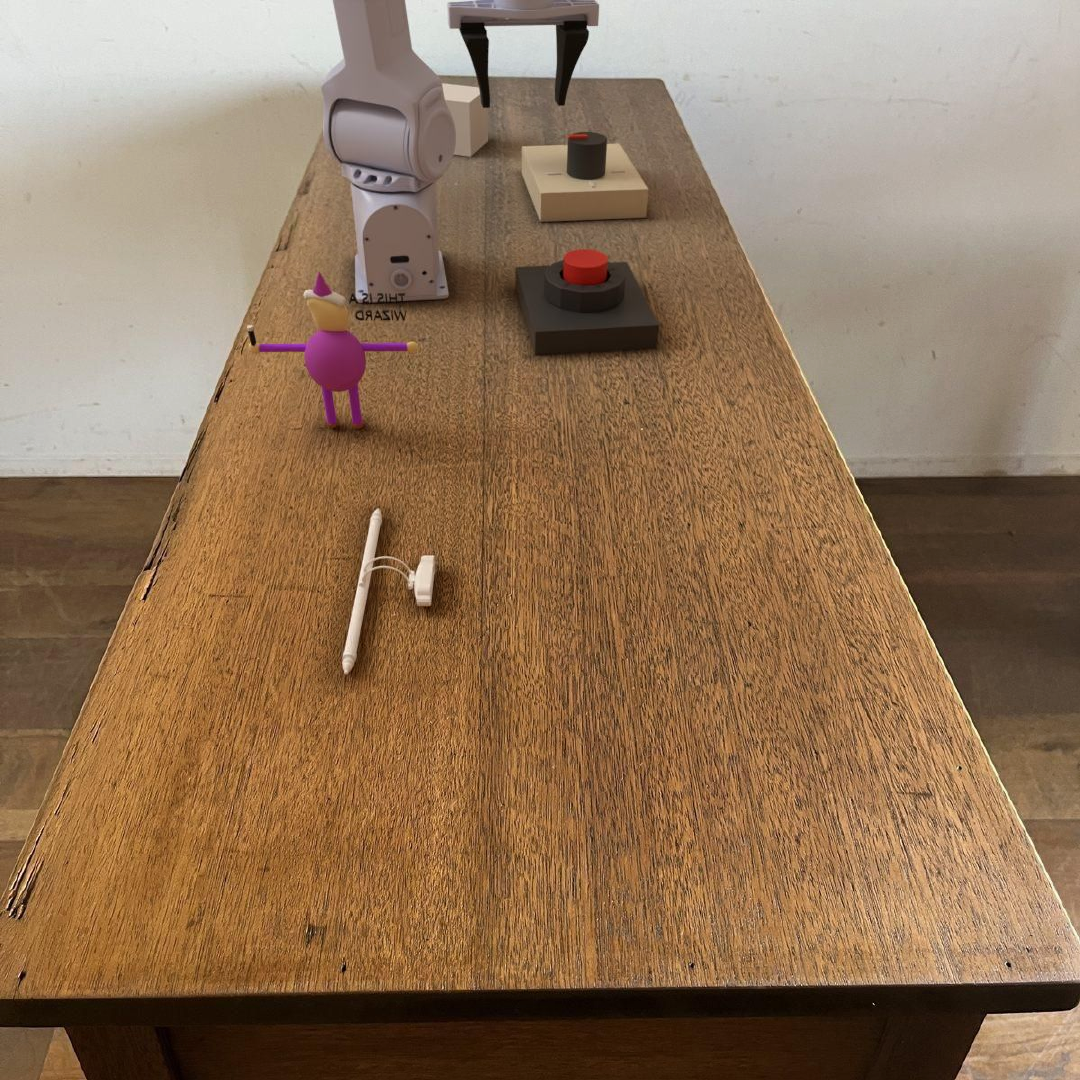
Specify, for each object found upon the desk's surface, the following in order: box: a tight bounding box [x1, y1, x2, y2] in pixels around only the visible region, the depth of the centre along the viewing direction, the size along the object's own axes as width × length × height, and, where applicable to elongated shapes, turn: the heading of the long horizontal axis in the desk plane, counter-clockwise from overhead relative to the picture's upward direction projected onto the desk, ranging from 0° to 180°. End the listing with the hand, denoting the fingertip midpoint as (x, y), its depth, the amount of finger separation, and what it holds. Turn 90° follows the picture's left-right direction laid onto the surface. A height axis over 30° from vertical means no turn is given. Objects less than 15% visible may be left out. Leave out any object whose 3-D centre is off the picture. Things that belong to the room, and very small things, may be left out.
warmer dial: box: [567, 131, 608, 179], centre depth 101 cm, size 4×4×4 cm
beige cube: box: [442, 82, 489, 158], centre depth 115 cm, size 6×6×6 cm
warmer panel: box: [521, 142, 649, 223], centre depth 104 cm, size 14×11×3 cm
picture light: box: [341, 508, 436, 675], centre depth 56 cm, size 14×4×2 cm, turn 0°
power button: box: [563, 248, 609, 286], centre depth 81 cm, size 4×4×2 cm
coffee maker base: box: [514, 259, 660, 356], centre depth 82 cm, size 12×10×4 cm
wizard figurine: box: [246, 271, 419, 430], centre depth 66 cm, size 11×3×12 cm, turn 92°
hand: (522, 104), depth 100 cm, fingers open, 7 cm apart
